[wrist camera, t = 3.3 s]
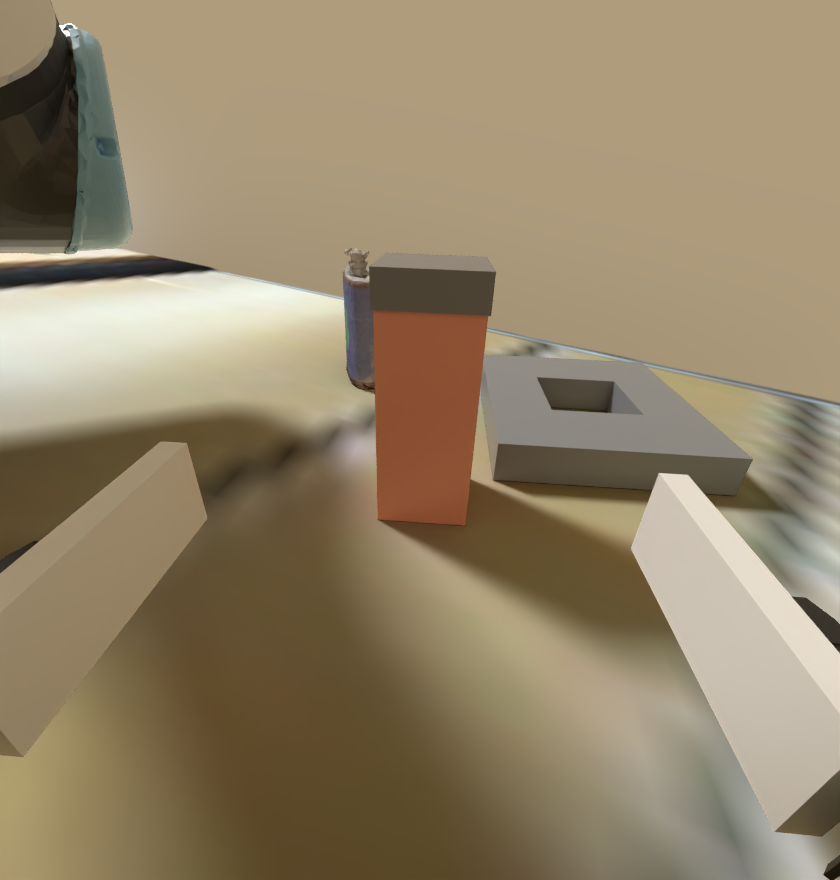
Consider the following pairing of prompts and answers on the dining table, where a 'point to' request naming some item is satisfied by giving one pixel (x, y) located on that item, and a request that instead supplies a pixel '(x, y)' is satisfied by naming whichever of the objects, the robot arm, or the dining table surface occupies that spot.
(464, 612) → the dining table surface
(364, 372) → the flask
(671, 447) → the socket plate
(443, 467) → the plug
